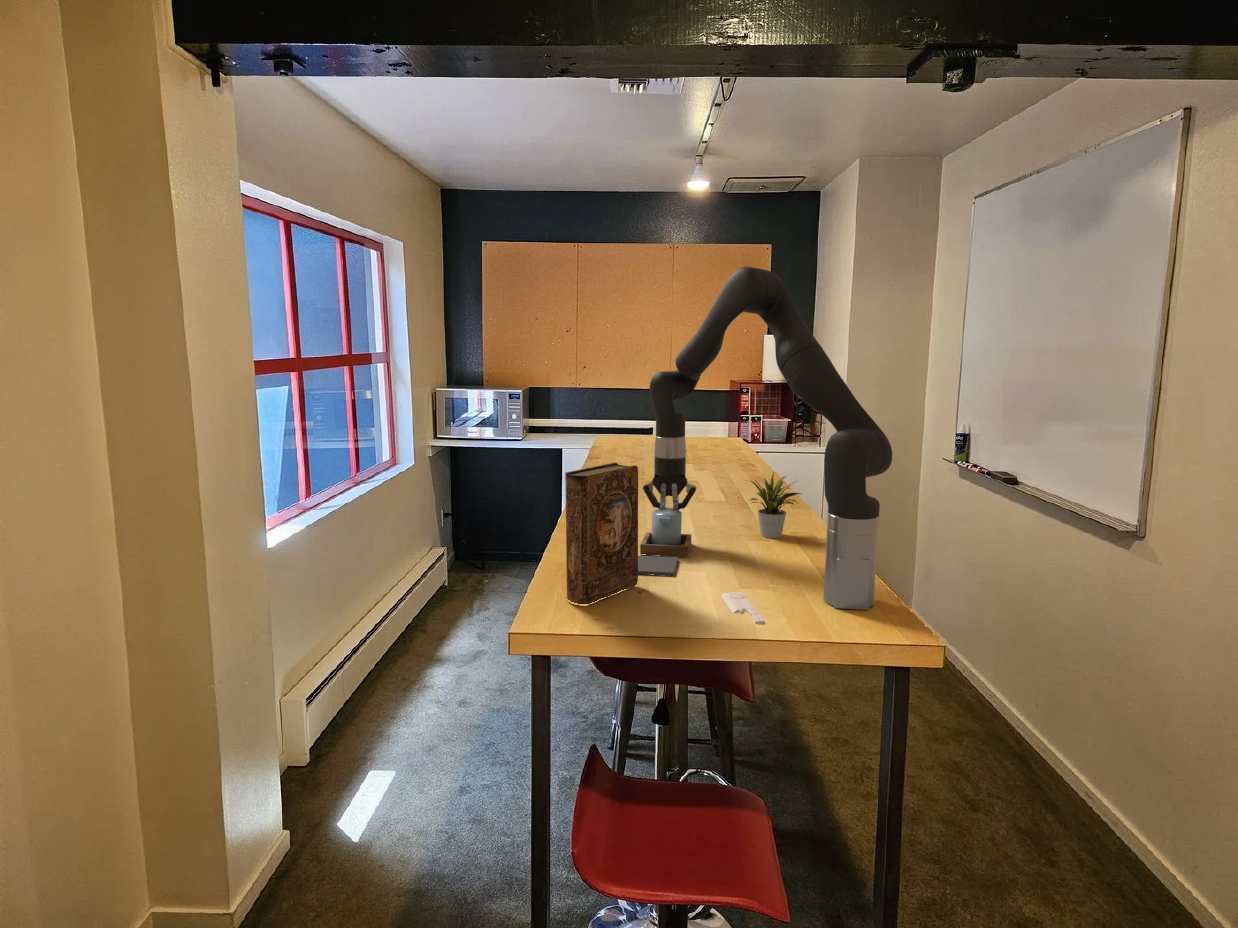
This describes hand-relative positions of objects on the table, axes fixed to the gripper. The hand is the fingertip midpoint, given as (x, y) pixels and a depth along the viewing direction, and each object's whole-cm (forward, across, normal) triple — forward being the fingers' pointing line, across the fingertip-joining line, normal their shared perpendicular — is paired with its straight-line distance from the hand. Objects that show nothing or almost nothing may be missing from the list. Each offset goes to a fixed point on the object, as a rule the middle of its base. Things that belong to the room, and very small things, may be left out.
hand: (669, 524), depth 184 cm
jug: (+5, 0, -4) cm, 6 cm away
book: (+5, -10, -39) cm, 40 cm away
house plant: (+5, +24, +10) cm, 26 cm away
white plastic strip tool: (+5, +18, -43) cm, 46 cm away
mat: (+5, -2, -20) cm, 21 cm away
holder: (+5, 0, -6) cm, 8 cm away
